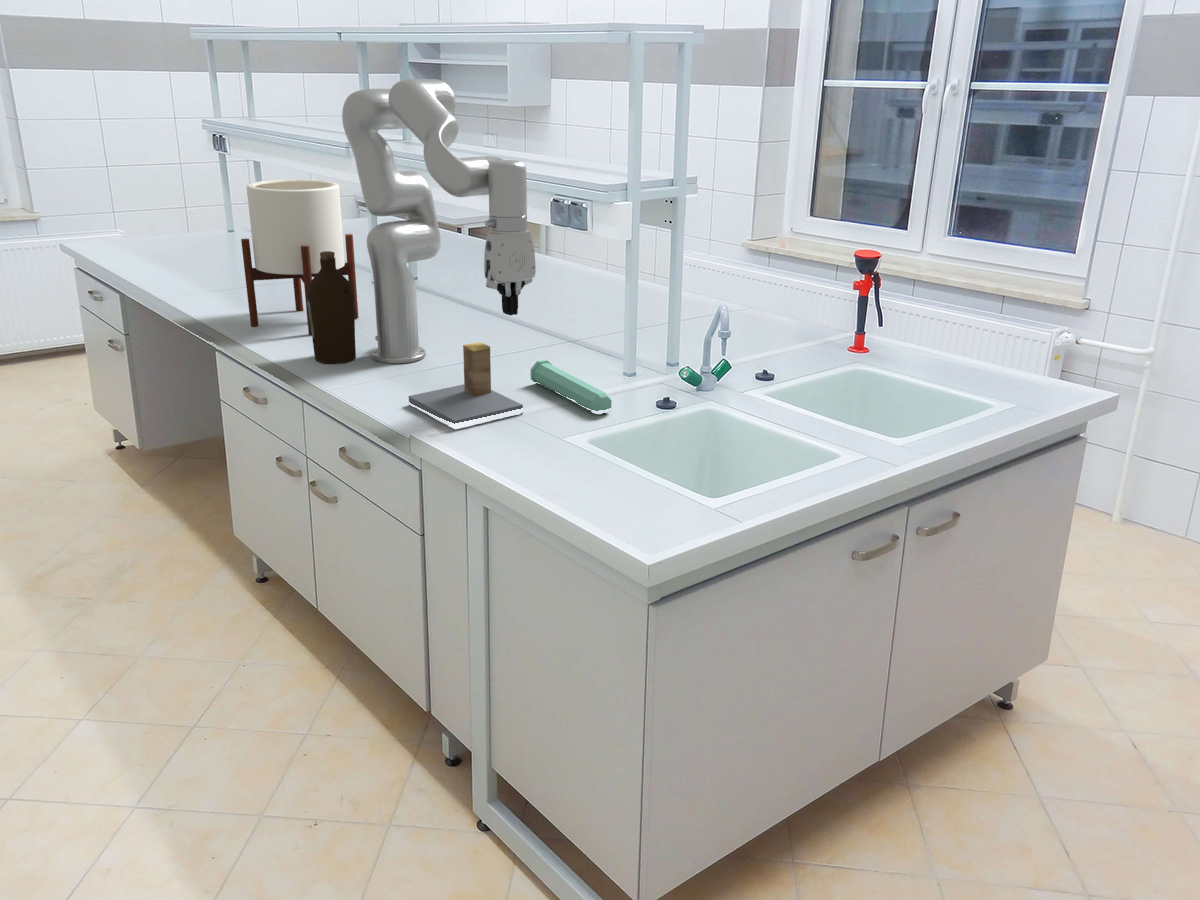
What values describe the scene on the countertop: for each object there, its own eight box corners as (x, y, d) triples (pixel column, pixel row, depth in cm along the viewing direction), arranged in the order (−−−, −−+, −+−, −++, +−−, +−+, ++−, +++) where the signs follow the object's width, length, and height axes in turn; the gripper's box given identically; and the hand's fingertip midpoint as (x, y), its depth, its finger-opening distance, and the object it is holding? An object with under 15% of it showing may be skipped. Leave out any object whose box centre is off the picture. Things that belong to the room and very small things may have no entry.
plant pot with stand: (365, 317, 266) (356, 182, 253) (314, 337, 247) (301, 192, 233) (298, 308, 274) (285, 177, 260) (243, 327, 254) (226, 186, 241)
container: (612, 387, 197) (547, 354, 216) (589, 402, 195) (526, 367, 214) (620, 410, 200) (555, 376, 219) (598, 425, 198) (534, 389, 217)
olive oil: (363, 352, 235) (356, 248, 226) (352, 365, 226) (344, 257, 216) (319, 351, 235) (310, 247, 226) (306, 364, 226) (296, 256, 216)
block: (464, 391, 205) (463, 345, 201) (480, 387, 207) (479, 342, 203) (474, 396, 202) (473, 349, 198) (491, 392, 204) (490, 346, 200)
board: (409, 405, 202) (408, 395, 201) (474, 390, 211) (474, 382, 210) (454, 430, 189) (454, 420, 188) (522, 414, 198) (522, 404, 198)
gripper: (487, 230, 189) (489, 322, 196) (549, 223, 198) (549, 312, 205) (466, 225, 194) (469, 315, 201) (527, 219, 203) (529, 305, 210)
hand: (510, 313), depth 203 cm, fingers closed
